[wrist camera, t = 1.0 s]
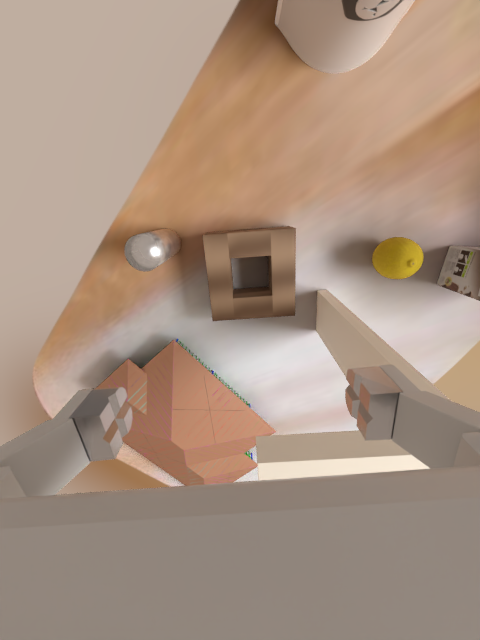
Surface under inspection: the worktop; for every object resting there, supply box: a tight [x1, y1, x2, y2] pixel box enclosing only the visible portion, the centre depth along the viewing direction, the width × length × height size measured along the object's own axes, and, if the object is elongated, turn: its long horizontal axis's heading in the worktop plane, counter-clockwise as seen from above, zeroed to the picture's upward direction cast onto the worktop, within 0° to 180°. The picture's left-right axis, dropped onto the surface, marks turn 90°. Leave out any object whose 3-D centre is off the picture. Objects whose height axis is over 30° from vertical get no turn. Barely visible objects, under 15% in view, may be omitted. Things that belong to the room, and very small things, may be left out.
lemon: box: [372, 237, 423, 279], centre depth 37 cm, size 6×6×8 cm
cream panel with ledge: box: [256, 290, 451, 481], centre depth 31 cm, size 11×13×30 cm
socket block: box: [203, 226, 296, 321], centre depth 39 cm, size 12×12×5 cm
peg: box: [125, 228, 181, 271], centre depth 35 cm, size 4×4×11 cm
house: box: [97, 339, 276, 486], centre depth 49 cm, size 23×33×8 cm
